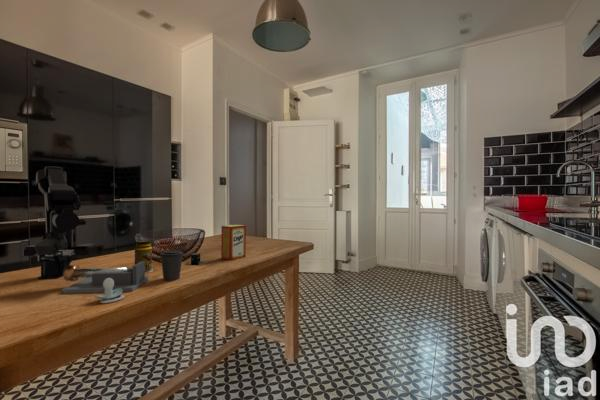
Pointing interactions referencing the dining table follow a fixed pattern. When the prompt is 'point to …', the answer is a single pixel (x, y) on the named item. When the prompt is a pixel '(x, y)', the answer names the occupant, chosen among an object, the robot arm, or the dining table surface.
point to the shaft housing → (121, 280)
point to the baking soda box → (233, 242)
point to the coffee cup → (171, 264)
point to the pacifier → (110, 292)
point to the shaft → (87, 272)
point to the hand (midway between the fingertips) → (61, 276)
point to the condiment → (144, 254)
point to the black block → (195, 259)
